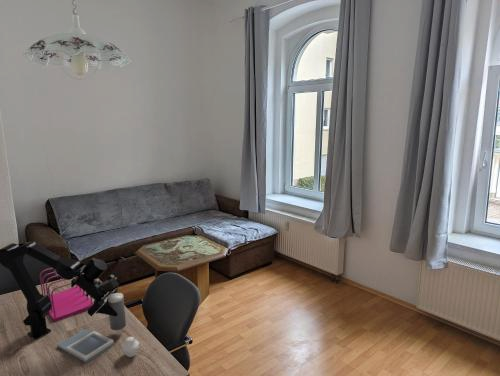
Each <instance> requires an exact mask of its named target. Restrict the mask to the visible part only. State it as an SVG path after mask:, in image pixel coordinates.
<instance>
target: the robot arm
mask: <svg viewBox="0 0 500 376" xmlns="http://www.w3.org/2000/svg"><path fill="white" fill-rule="evenodd" d="M25 255H27V256H29V257H31V258H33V259H35V260H36V261H39V262H41V263H42V264H45V265H47V266H48V267H49V268H54V269H53V270H55V272H57V273H56V274H57V275H60V276H59V277H61V278H62V279H66V280H67V281H70V283H71V284H70V288H73V287H76V285H77V286H79V287H80V288H81V290H82V291H84V293H85V294H86V293H87V294H86V295H85V296H88V297H89V298H90V297H92V302H93V304H92V305H91V307H90V308H89V309H88V310H86V311H87V312H86V313H87V314H88V315H89V316H90V317H93V316H94V314H95V315H97V314H100V315H106V316H109V315H111V316H117V315H118V314H117V313H116V311H115V310H114V309H112V308H111V307H110V306H109V303H108V300H107V297H108V296H109V295H111V294H114V293H119V292H118V290H119V286H120V283H119V282H118V281H117V280H118V277H117V276H116V275H114V274H109V275H108V276H107V279H106V280H105V281H102V280H97V279H99V277H100V276H101V275H102V274H103V273H104V272H105V271H106V270H107V269H108V265H107V263H106V262H105V261H104V260H102V259H99V258H95V257H92V259H90V260H89V261H88V262H80V261H79V260H76V259H72V258H70V257H62V256H60V255H58V254H56V253H55V252H52V251H50V250H49V249H47V248H45V247H43V246H41V245H39V244H37V243H36V242H35V241H34V240H32V241H31V240H30V241H28V242H19V243H13V242H12V243H10V244H7V245H5V246H3V247H1V248H0V265H1V266H2V267H4V268H6V269H8V270H9V271H10V272H11V275H12V277H13V278H14V280H15V282H16V284H17V286H18V287H19V289H20V291H21V293H22V295H23V296H24V298H25V300H26V311H27V316H26V317H25V318H24V319H23V320H22V322H23V324H24V326H29V329H30V331H29V332H27V336H29V337H31V338H32V339H34V340H37V339H39V338H41V337H43V336H45V335H46V334H49V333H51V332H52V329H50V328H48V326H47V320H46V317H47V316H48V315H49V311H50V310H51V308H52V304H51V303H52V301H51V300H50V299H49V296H48V295H47V294H46V296H43V295H44V294H43V295H42V293H41V292H40V291H39V290H38V289H39V288H37V285H36V284H35V282H34V280H33V278H32V277H31V274H30V273H29V271H28V269H27V267H26V266H25V263H24V256H25ZM81 273H83V274H81ZM75 277H77V278H75ZM66 280H65V281H66ZM93 300H94V301H93ZM105 300H106V301H105Z"/></svg>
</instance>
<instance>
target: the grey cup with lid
mask: <svg viewBox="0 0 500 376" xmlns="http://www.w3.org/2000/svg"><path fill="white" fill-rule="evenodd" d="M124 299H125V298H124V294H123V293H121V292H118V293H114V294H111V295H109V296H108V297H107V298H106V301H107V300H108V303H109V306H110V307H111V308H112V309H114V310H115V311H116V313H117V314H118V315H117V316H111V315H108V316H109V318H108V319H109V327H110V330H112V331H120V330H122V329H124V328H125V327H126V325H127V321H126V320H127V319H126V310H125V301H124Z"/></svg>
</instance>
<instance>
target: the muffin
mask: <svg viewBox="0 0 500 376" xmlns="http://www.w3.org/2000/svg"><path fill="white" fill-rule="evenodd" d="M139 347H140V343H139V340H137V339H136V338H135V337H134V336H128V337H126V339H125V340H124V343H123V344H122V345H121V350H122V352H123V354H125V356H126V357H128V358H132V357H134V356H136V354H137V352H138V351H139Z"/></svg>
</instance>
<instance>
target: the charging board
mask: <svg viewBox="0 0 500 376" xmlns="http://www.w3.org/2000/svg"><path fill="white" fill-rule="evenodd" d="M114 342H115V341H114V339H112V338H110V337H108V336H105V335H103V334H102V333H100V332H97V331H94V330H93V331H91V330H88V329H87V328H85V329H83V330H81V331H79V332H78V333H76V334H74V335H72V336H70V337H69V338H67V339H65V340H63V341H61V342H60V343H57V344H56V347H57V348H58V349H60V350H61V351H63V352H65V353H67V354H68V355H71V356H73V357H74V358H76V359H78V360H79V361H82V362H83V363H85V364H87V363H88V362H90V361H92V360H93V359H94V358H96V357H98V356H99V355H101V354H102V353H103V352H106V351H107V350H108V349H110V348H111V347H113V346H115V343H114Z"/></svg>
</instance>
